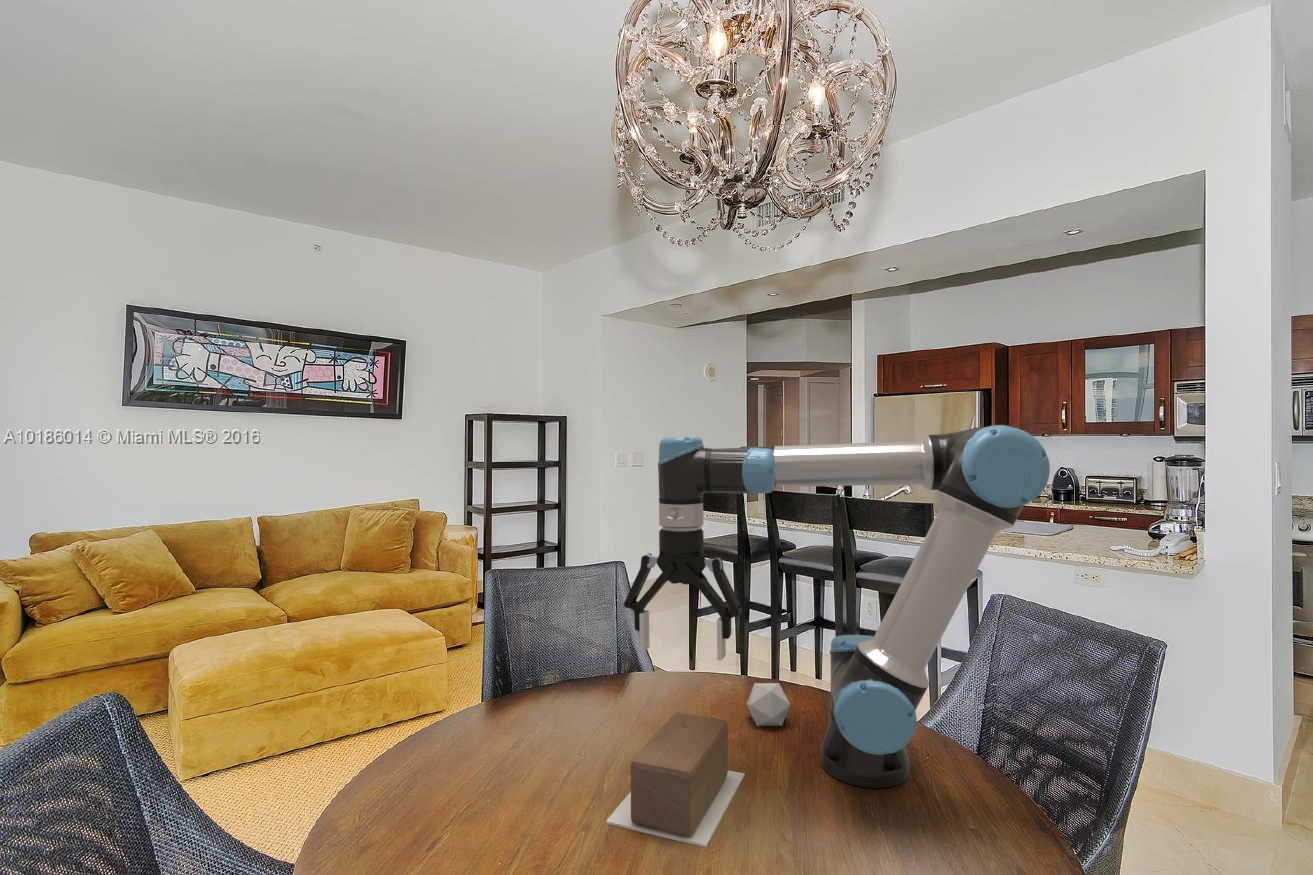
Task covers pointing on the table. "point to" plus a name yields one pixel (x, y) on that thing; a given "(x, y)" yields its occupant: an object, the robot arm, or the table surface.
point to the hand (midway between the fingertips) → (682, 653)
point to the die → (768, 704)
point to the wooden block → (679, 773)
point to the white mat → (705, 825)
